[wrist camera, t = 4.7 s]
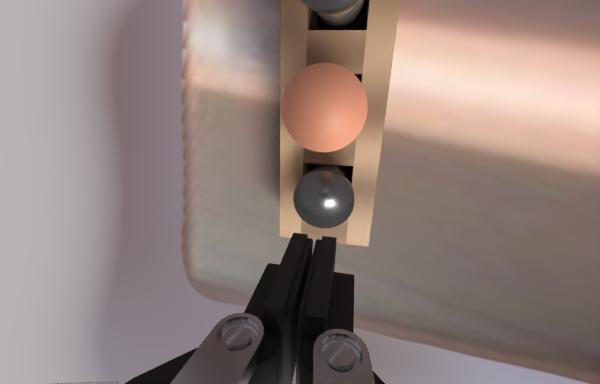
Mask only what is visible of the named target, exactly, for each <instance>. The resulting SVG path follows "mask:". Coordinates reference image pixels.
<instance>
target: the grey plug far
mask: <svg viewBox="0 0 600 384" xmlns="http://www.w3.org/2000/svg"><path fill="white" fill-rule="evenodd" d="M293 203H294V207H295V210H296V212H297V213H298V215H299V216H300V217H301V219H302V220H304V221H305V222H306V223H308V224H309V225H312V226H314V227H317V228H333V227H336V226H338V225H340V224H342V223H343V222H345V221H346V220H347V219H348V218H349V216H350V215H351V213H352V211H353V208H354V190H353V187H352V185H351V183H350V181H349V180H348V168H347V166H345V165H331V164H317V163H315V165H314V168H313V170H312V171H310V172H308V173H307V174H305V175H304V176H303V177H302V178H301V179H300V181H299V183H298V184H297V186H296V188H295V191H294V195H293Z"/></svg>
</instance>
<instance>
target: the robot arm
mask: <svg viewBox="0 0 600 384" xmlns="http://www.w3.org/2000/svg"><path fill="white" fill-rule="evenodd" d="M336 241H337V238H336V237H327V236H322V240H321V239H317V240H316V244H315V248H314V251H313V255H312V246H313V239H312V238H308V234H301V233H293V235H292V237H291V240H290V242H289V244H288V247H287V249H286V252H285V254H284V256H283V259H282V261H281V264H280V265H278V264H271V263H269V264H268V265H267V267H266V269H265V271H264V273H263V275H262V277H261V279H260V281H259V283H258V285H257V287H256V289H255V291H254V293H253V295H252V298H251V300H250V302H249V304H248V306H247V308H246V310H245V312H244V313H235V314H232V315H229V316H227V317H225V318H223V319H222V320H221V321H219V322H218V323H217V324H216V326H215V327H214V328H213V329H212V331H211V332H210V333H209V334H208V336H207V337H206V338H205V340H204V341H203V342H202V344H201V345H200V346H199V347H198V348H196V349H194V350H192V351H189V352H187V353H185V354H183V355H181V356H179V357H177V358H175V359H173V360H170V361H168V362H166V363H164V364H163V365H160V366H158V367H156V368H154V369H152V370H150V371H148V372H145V373H143V374H141V375H139V376H137V377H135V378H133V379H132V380H130V381H128V382H127V383H125V384H292V381H293V376H294V371H295V366H296V384H385V383H384V382H383V381H382V380H381V379H380V378H379V377H378V376H377V375H376V374H375V373H374V372H373V371H372V366H371V361H370V356H369V352H368V350H367V347H366V345H365V343H364V342H363V341H362V340H361V338H359V337H358V336H357V335H356V334H354V333H353V319H354V275H352V274H344V273H337V272H334V265H335V253H336ZM57 384H118V381H108V382H107V381H106V382H81V383H57Z"/></svg>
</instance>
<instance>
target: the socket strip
mask: <svg viewBox="0 0 600 384" xmlns="http://www.w3.org/2000/svg"><path fill="white" fill-rule="evenodd" d="M399 5H400V0H367V11H366V21H365V30H317V17H318V13H317V12H316V11H314V10H312V9H310V8H308V7H307V6H306V5H305V4H303V3H302V2H301V1H300V0H280V237H288V238H291V237H292V235H293V233H301V234H308V238H312V239H313V240H315V241H316V240H317V239H321V240H322V236H327V237H336V238H337V241H336V243H342V244H351V245H360V246H368V244H369V237H370V229H371V221H372V213H373V206H374V198H375V190H376V182H377V175H378V167H379V159H380V152H381V144H382V136H383V128H384V121H385V113H386V105H387V98H388V90H389V82H390V74H391V67H392V59H393V51H394V43H395V36H396V28H397V20H398V13H399ZM317 63H334V64H338V65H340V66H343V67H345V68H347V69H348V70H350V71H351V72H352V73H353V74H354V75H355V76H360V82H361V84H362V85H363V87H364V90H365V93H366V96H367V103H368V112H367V117H366V121H365V124H364V126H363V128H362V130H361V132H360V133H359V134H358V136H357V137H356V138H355V139H354V140H353V141H352V142H351V143H350V144H348V145H347V146H345V147H343V148H341V149H339V150H336V151H332V152H316V151H312V150H309V149H307V148H305V147H303V146H301V145H300V144H299V143H297V142H296V141H295V140H294V139H293V138H292V137H291V135H290V134H289V132H288V131H287V129H286V127H285V125H284V121H283V117H282V99H283V95H284V92H285V89H286V87H287V85H288V84H289V82H290V81H291V79H292V78H293V77H294V76H295V75H296V74H297V73H298V72H300V71H301V70H302V69H304V68H306V67H308V66H310V65H313V64H317ZM311 163H317V164H331V165H345V166H352V169H351V180H350V183H351V185H352V187H353V190H354V208H353V211H352V213H351V215H350V216H349V218H348V219H347V220H346V221H345V222H343V223H342V224H340V225H338V226H336V227H333V228H317V227H314V226H312V225H309V224H308V223H306V222H305V221H304V220H302V219H301V217H300V216H299V215H298V213H297V212H296V210H295V207H294V203H293V195H294V191H295V188H296V186H297V184H298V183H299V181H300V179H301V178H302V177H303V176H304V175H305V174H307V173H308V172H310V171H311Z"/></svg>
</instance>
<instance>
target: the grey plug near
mask: <svg viewBox="0 0 600 384" xmlns="http://www.w3.org/2000/svg"><path fill="white" fill-rule="evenodd" d="M300 1H301V2H302V3H303V4H305V5H306V6H307V7H308V8H310V9H312V10H314V11H316V12H317V13H318V15H319V17H320V18H321V20H322V21H323V22H325V23H326V24H328V25H330V26H333V27H342V26H345V25H348V24H349V23H351V22H352V21H353V20H355V19H356V17H357V16H358V15H359V13H360V11H361V9H362V7H363V3H364V0H300Z"/></svg>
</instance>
